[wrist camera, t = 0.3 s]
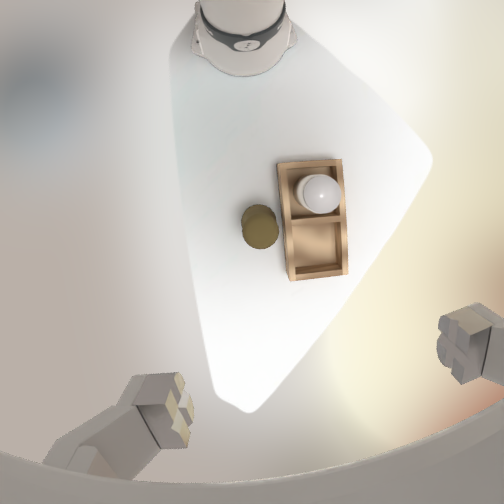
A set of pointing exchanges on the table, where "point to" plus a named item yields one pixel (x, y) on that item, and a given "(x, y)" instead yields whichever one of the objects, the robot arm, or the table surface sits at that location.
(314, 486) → the robot arm
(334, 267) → the caddy
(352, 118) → the table surface
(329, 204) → the salt shaker
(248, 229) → the cork
